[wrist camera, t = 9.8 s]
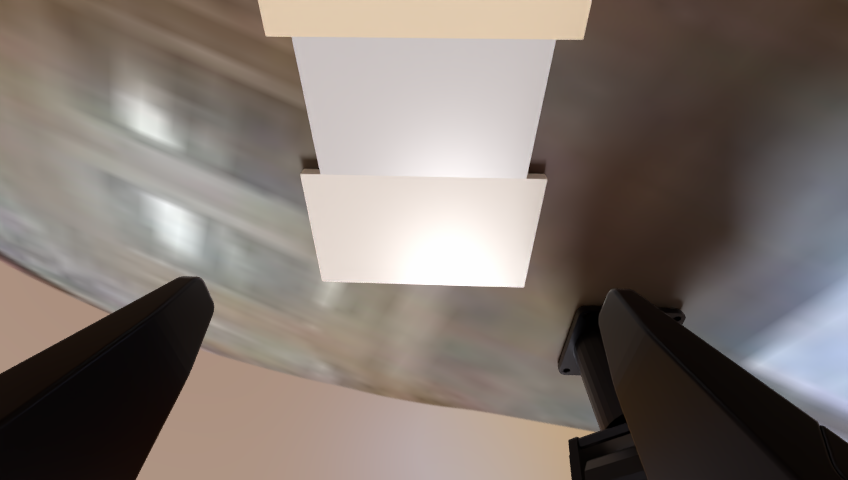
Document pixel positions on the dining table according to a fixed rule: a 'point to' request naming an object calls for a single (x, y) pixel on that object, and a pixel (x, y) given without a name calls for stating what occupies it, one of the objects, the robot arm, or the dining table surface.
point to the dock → (424, 132)
